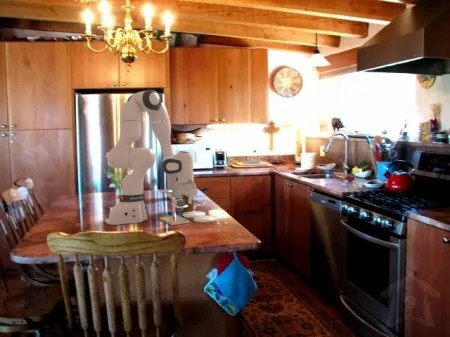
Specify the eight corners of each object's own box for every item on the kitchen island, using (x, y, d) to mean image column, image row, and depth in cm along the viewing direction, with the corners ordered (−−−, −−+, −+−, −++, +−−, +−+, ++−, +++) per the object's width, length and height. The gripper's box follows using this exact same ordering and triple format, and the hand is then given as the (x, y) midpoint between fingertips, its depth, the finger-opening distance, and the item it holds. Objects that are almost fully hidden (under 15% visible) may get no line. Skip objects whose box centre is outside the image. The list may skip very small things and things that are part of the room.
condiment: (196, 211, 270) (195, 190, 268) (183, 213, 265) (182, 192, 264) (190, 209, 276) (189, 189, 274) (177, 211, 271) (177, 191, 270)
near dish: (200, 223, 236) (200, 221, 236) (189, 219, 248) (189, 217, 248) (222, 220, 243) (222, 218, 243) (211, 216, 254) (210, 214, 254)
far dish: (188, 218, 249) (188, 217, 249) (178, 214, 260) (178, 213, 260) (209, 215, 255) (209, 214, 255) (199, 212, 267) (199, 210, 267)
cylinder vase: (165, 197, 323) (164, 161, 320) (182, 195, 328) (181, 160, 326) (171, 199, 312) (169, 162, 309) (188, 198, 317) (187, 161, 314)
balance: (175, 227, 230) (174, 196, 229) (156, 218, 253) (155, 190, 252) (193, 224, 235) (192, 194, 234) (173, 215, 258) (172, 188, 256)
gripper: (199, 180, 261) (199, 204, 262) (183, 177, 278) (184, 199, 280) (188, 181, 258) (189, 205, 259) (174, 177, 275) (175, 200, 277)
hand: (187, 202), depth 270 cm, fingers closed on condiment, 6 cm apart
